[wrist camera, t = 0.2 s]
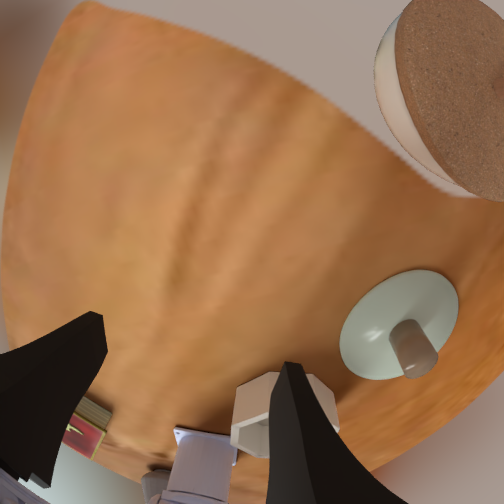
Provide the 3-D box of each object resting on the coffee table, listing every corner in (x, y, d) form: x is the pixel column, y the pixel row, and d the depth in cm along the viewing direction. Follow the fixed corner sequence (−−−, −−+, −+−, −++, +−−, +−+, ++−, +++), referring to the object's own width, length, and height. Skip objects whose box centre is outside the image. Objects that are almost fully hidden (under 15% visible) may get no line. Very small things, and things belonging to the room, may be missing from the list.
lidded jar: (466, 48, 11) (547, 28, 2) (477, 179, 15) (566, 215, 6) (339, 20, 12) (389, -58, 3) (356, 174, 16) (435, 212, 7)
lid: (424, 370, 23) (440, 402, 18) (324, 374, 23) (330, 415, 19) (470, 272, 18) (501, 300, 14) (359, 260, 19) (381, 295, 14)
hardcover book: (47, 412, 35) (38, 427, 31) (45, 363, 27) (30, 382, 24) (98, 446, 37) (91, 461, 33) (116, 411, 29) (105, 434, 25)
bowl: (317, 426, 26) (320, 458, 22) (234, 421, 27) (229, 454, 22) (341, 374, 23) (350, 412, 18) (238, 368, 23) (232, 408, 19)
